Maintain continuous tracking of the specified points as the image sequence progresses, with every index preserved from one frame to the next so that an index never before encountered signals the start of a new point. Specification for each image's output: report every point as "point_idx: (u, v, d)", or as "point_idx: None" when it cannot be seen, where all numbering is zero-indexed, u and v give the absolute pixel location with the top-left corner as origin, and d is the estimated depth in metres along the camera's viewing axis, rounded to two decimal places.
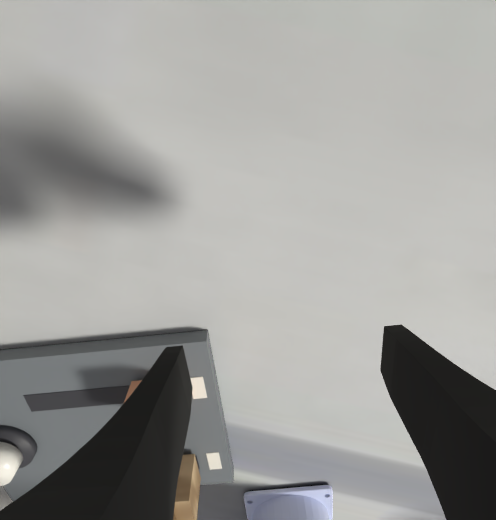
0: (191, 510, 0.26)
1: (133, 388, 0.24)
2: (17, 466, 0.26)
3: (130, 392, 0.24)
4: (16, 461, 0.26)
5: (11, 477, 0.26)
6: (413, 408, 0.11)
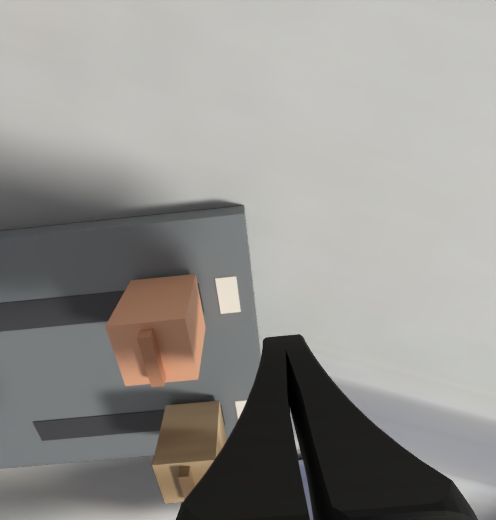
0: None
1: (133, 287, 0.16)
2: None
3: (129, 291, 0.16)
4: None
5: None
6: (297, 418, 0.11)
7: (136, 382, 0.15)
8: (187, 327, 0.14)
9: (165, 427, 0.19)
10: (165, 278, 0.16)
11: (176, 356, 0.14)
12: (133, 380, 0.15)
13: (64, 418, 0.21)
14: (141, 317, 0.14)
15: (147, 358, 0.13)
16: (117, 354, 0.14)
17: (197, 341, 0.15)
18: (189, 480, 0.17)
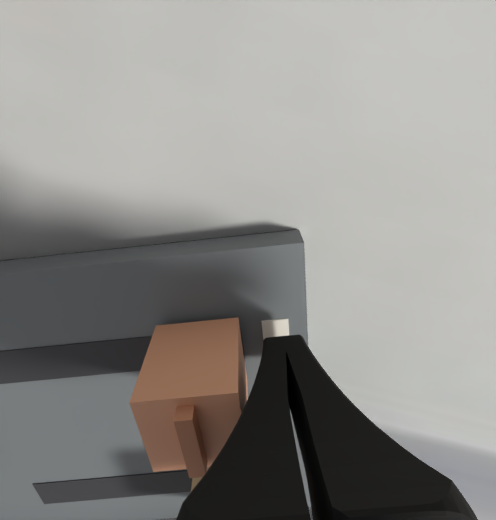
0: None
1: (160, 336, 0.12)
2: None
3: (155, 343, 0.12)
4: None
5: None
6: (297, 418, 0.11)
7: (168, 467, 0.11)
8: (239, 402, 0.10)
9: None
10: (200, 323, 0.13)
11: (222, 437, 0.11)
12: (164, 465, 0.11)
13: (71, 480, 0.17)
14: (177, 388, 0.10)
15: (185, 445, 0.10)
16: (143, 435, 0.10)
17: None
18: None
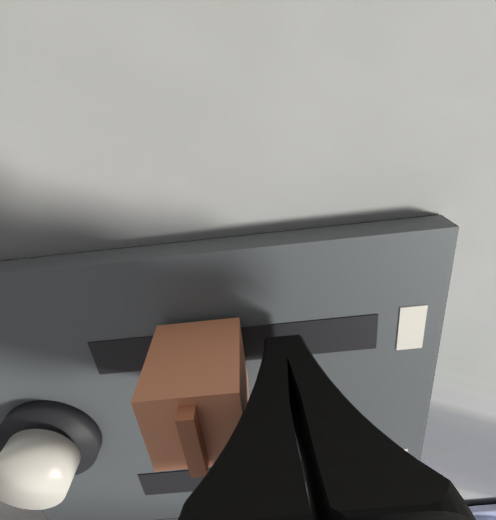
0: None
1: (161, 336, 0.12)
2: (73, 474, 0.15)
3: (156, 343, 0.12)
4: (71, 465, 0.14)
5: (64, 494, 0.14)
6: (296, 418, 0.11)
7: (169, 467, 0.11)
8: (240, 401, 0.10)
9: None
10: (201, 323, 0.13)
11: (223, 437, 0.11)
12: (165, 464, 0.11)
13: (176, 470, 0.17)
14: (178, 388, 0.10)
15: (187, 445, 0.10)
16: (144, 435, 0.10)
17: None
18: None
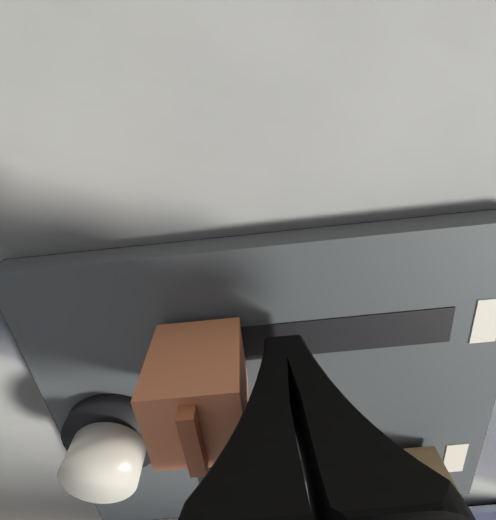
0: None
1: (161, 336, 0.12)
2: (141, 467, 0.15)
3: (156, 342, 0.12)
4: (140, 459, 0.14)
5: (134, 488, 0.14)
6: (296, 418, 0.11)
7: (169, 467, 0.11)
8: (240, 401, 0.10)
9: None
10: (201, 323, 0.13)
11: (223, 437, 0.11)
12: (165, 464, 0.11)
13: None
14: (179, 387, 0.10)
15: (187, 444, 0.10)
16: (144, 435, 0.10)
17: None
18: None
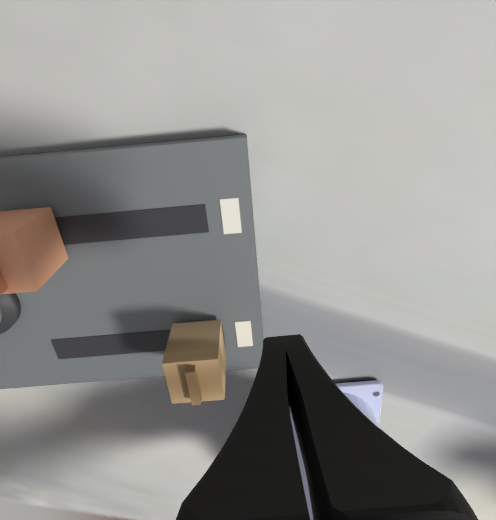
0: (220, 375, 0.20)
1: None
2: None
3: None
4: None
5: None
6: (297, 418, 0.11)
7: None
8: (18, 241, 0.16)
9: (172, 338, 0.21)
10: (23, 210, 0.19)
11: (13, 268, 0.16)
12: None
13: (80, 336, 0.23)
14: None
15: None
16: None
17: (42, 261, 0.18)
18: (194, 376, 0.19)
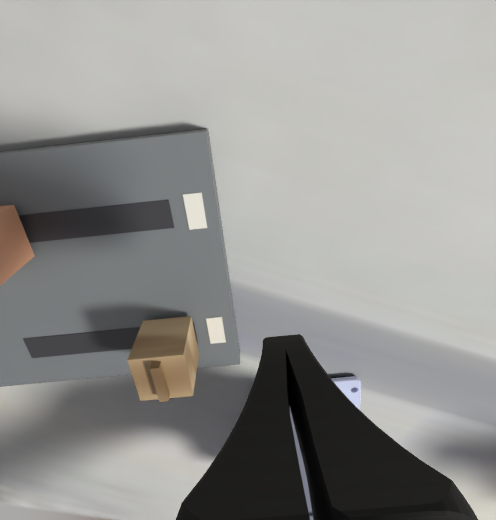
0: (186, 371, 0.20)
1: None
2: None
3: None
4: None
5: None
6: (297, 418, 0.11)
7: None
8: None
9: (141, 335, 0.21)
10: None
11: None
12: None
13: (51, 335, 0.23)
14: None
15: None
16: None
17: (4, 258, 0.18)
18: (160, 372, 0.19)
